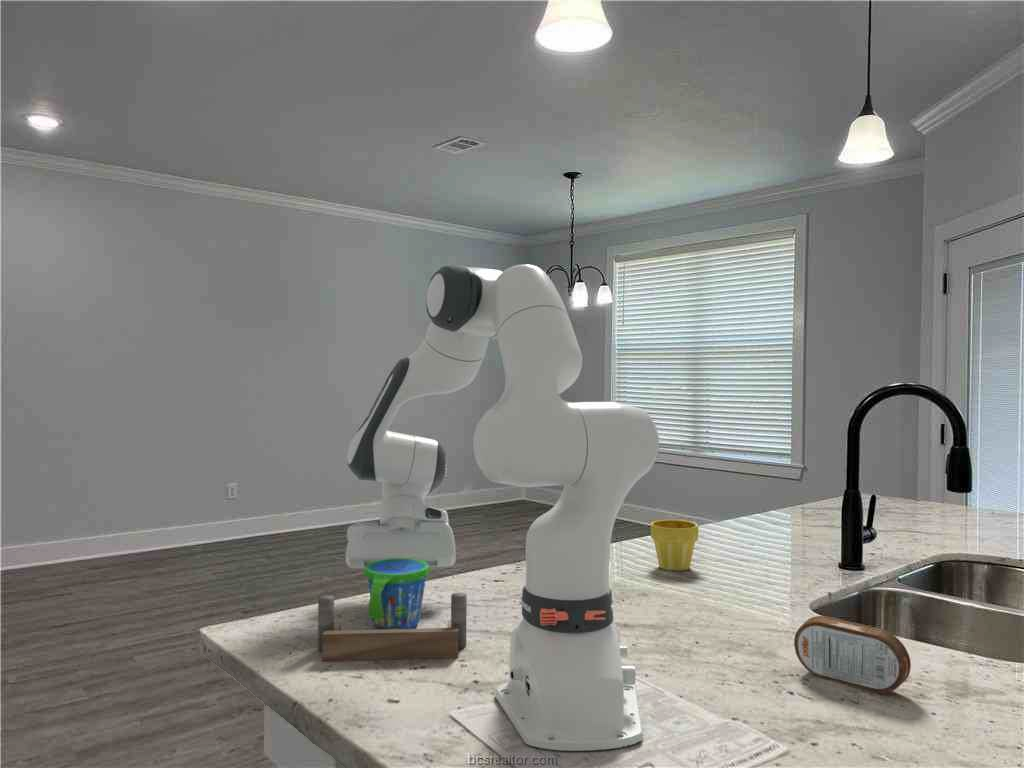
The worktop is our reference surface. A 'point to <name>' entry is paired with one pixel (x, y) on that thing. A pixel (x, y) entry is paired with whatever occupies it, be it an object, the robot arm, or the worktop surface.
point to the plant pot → (674, 543)
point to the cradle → (390, 637)
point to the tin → (852, 654)
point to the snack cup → (396, 592)
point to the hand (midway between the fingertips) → (399, 586)
